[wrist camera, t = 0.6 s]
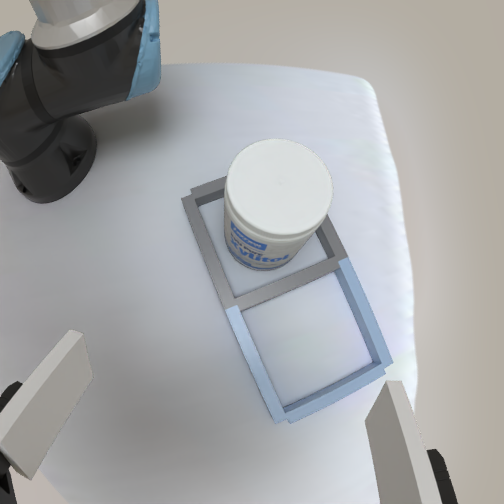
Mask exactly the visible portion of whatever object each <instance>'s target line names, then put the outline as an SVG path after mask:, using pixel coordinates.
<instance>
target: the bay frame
mask: <svg viewBox="0 0 504 504" xmlns="http://www.w3.org/2000/svg"><path fill="white" fill-rule="evenodd" d="M226 178H227V176H225V177H222V178H219V179H217V180H214V181H211V182H208V183H206V184H203V185H200V186H197V187H195V188H192V189H191V193H192V194H191V195H189V196H186V197H184V198H181V200H182V202H183V205H184V208H185V211H186V213H187V216H188V219H189V221H190V224H191V227H192V229H193V232H194V234H195V237H196V240H197V242H198V245H199V247H200V250H201V252H202V255H203V257H204V260H205V263H206V265H207V268H208V270H209V273H210V275H211V278H212V280H213V282H214V285H215V287H216V290H217V292H218V295H219V297H220V300H221V302H222V304H223V307H224V309H225V312H226V314H227V316H228V319H229V321H230V324H231V326H232V328H233V331H234V333H235V335H236V338H237V340H238V342H239V345H240V347H241V349H242V352H243V354H244V356H245V358H246V361H247V363H248V365H249V367H250V370H251V372H252V374H253V376H254V379H255V381H256V383H257V385H258V388H259V390H260V392H261V394H262V396H263V399H264V401H265V403H266V405H267V407H268V409H269V412H270V414H271V416H272V418H273V420H274V422H275V424H277V423H279V422H281V421H284V420H286V419H287V420H288V422H289V423H290V424H291V423H293V422H296V421H298V420H300V419H302V418H304V417H306V416H309V415H311V414H313V413H315V412H317V411H319V410H321V409H323V408H325V407H327V406H329V405H331V404H333V403H335V402H337V401H339V400H340V399H342V398H344V397H346V396H348V395H350V394H352V393H353V392H355V391H357V390H359V389H361V388H362V387H364V386H366V385H368V384H369V383H371V382H373V381H375V380H376V379H378V378H380V377H381V376H383V375H385V374H386V373H385V371H384V368H386V367H387V366H389V365H391V364H392V363H393V360H392V358H391V355H390V353H389V350H388V348H387V345H386V343H385V340H384V338H383V335H382V333H381V330H380V328H379V325H378V323H377V321H376V318H375V316H374V313H373V311H372V309H371V306H370V304H369V302H368V299H367V297H366V295H365V293H364V290H363V288H362V286H361V284H360V281H359V279H358V277H357V275H356V273H355V270H354V268H353V266H352V264H351V262H350V260H349V258H348V255H347V253H346V251H345V249H344V247H343V245H342V243H341V241H340V239H339V237H338V235H337V233H336V230H335V228H334V226H333V224H332V222H331V220H330V218H329V216H328V214H327V215H326V217H325V219H324V220H323V222H322V223H321V224H320V226H319V227H318V228H317V230H316V233H317V236H318V238H319V240H320V242H321V244H322V246H323V248H324V250H325V252H326V254H327V257H328V259H327V260H325V261H323V262H320V263H318V264H316V265H313V266H311V267H309V268H306V269H304V270H302V271H300V272H297V273H295V274H293V275H290V276H288V277H285V278H283V279H281V280H278V281H276V282H274V283H271V284H269V285H267V286H264V287H262V288H259V289H257V290H255V291H252V292H250V293H247V294H245V295H242V296H240V297H238V298H234V296H233V293H232V291H231V289H230V286H229V284H228V281H227V279H226V277H225V274H224V272H223V269H222V267H221V264H220V262H219V259H218V257H217V255H216V252H215V250H214V247H213V245H212V242H211V240H210V237H209V235H208V232H207V230H206V227H205V225H204V222H203V220H202V217H201V215H200V212H199V210H198V206H200V205H203V204H206V203H208V202H211V201H214V200H216V199H219V198H222V197H224V189H225V182H226ZM331 272H335V274H336V276H337V278H338V280H339V283H340V285H341V287H342V289H343V292H344V294H345V296H346V298H347V301H348V303H349V305H350V307H351V310H352V312H353V314H354V317H355V319H356V321H357V324H358V326H359V328H360V331H361V333H362V336H363V338H364V340H365V343H366V345H367V348H368V350H369V353H370V355H371V358H372V360H373V363H371V364H369V365H367V366H366V367H364V368H362V369H360V370H359V371H357V372H355V373H353V374H351V375H349V376H348V377H346V378H344V379H342V380H340V381H338V382H336V383H334V384H332V385H330V386H328V387H326V388H324V389H322V390H320V391H318V392H316V393H314V394H312V395H310V396H308V397H306V398H304V399H302V400H300V401H297V402H295V403H293V404H291V405H289V406H286V407H284V408H282V405H281V403H280V401H279V399H278V397H277V394H276V392H275V390H274V388H273V386H272V383H271V381H270V379H269V377H268V374H267V372H266V370H265V368H264V365H263V363H262V361H261V359H260V356H259V354H258V352H257V349H256V347H255V345H254V343H253V340H252V338H251V336H250V333H249V331H248V329H247V326H246V324H245V322H244V319H243V317H242V315H241V312H242V311H244V310H246V309H249V308H251V307H254V306H256V305H258V304H261V303H263V302H265V301H268V300H270V299H273V298H275V297H277V296H280V295H282V294H284V293H286V292H289V291H291V290H293V289H296V288H298V287H300V286H302V285H305V284H307V283H309V282H311V281H314V280H316V279H318V278H320V277H323V276H325V275H327V274H329V273H331Z"/></svg>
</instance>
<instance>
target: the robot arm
mask: <svg viewBox="0 0 504 504" xmlns="http://www.w3.org/2000/svg"><path fill="white" fill-rule="evenodd" d="M29 1H30V3H31V5H32V7H33V9H34V11H35V13H36V15H37V17H38V19H37V21H36V23H35V26H34V28H33V30H32V34H31V38H30V39H28V40H25V35H24V34H22V33H21V32H19V31H10V32H8V33H6V34H4V35H2V36H1V37H0V160H2V161H3V162H4V163H5V164H6V166H7V168H8V171H9V173H10V175H11V177H12V179H13V182H14V184H15V186H16V188H17V189H18V190H19V192H20V193H21V194H23V195H24V196H25V197H26V198H28V199H29V200H31V201H33V202H36V203H48V202H52V201H55V200H58V199H60V198H62V197H63V196H65V195H67V194H68V193H69V192H71V191H72V190H73V189H74V188H75V187H76V186H77V185H78V184H79V183H80V182H81V181H82V180H83V178H84V177H85V176H86V174H87V173H88V171H89V169H90V167H91V165H92V163H93V160H94V157H95V153H96V137H95V134H94V132H93V130H92V129H91V127H90V125H89V124H88V122H87V121H86V120H85V119H84V118H82V117H81V116H79V115H78V114H81V113H84V112H87V111H90V110H94V109H97V108H100V107H104V106H107V105H111V104H114V103H118V102H122V101H128V100H130V99H131V98H133V97H136V96H139V95H142V94H145V93H149V92H151V91H153V90H154V89H155V88H156V87H157V86H158V84H159V82H160V79H161V55H160V39H159V36H160V33H159V6H158V0H29ZM93 378H94V376H93V372H92V369H91V364H90V360H89V356H88V352H87V347H86V343H85V338H84V333H80V332H77V331H74V330H71V329H70V330H69V331H68V332H67V333H66V334H65V335H64V337H63V338H62V339H61V340H60V341H59V342H58V343H57V344H56V346H55V347H54V348H53V349H52V350H51V351H50V353H49V354H48V355H47V356H46V357H45V358H44V360H43V361H42V362H41V363H40V364H39V365H38V367H37V368H36V369H35V370H34V371H33V373H32V374H31V375H30V376H29V377H28V379H27V380H26V381H25V382H24V384H22V383H20V382H18V381H17V382H15V383H13V384H12V385H10V386H8V387H7V388H6V390H5V391H4V392H3V393H2V395H1V397H0V504H17V501H16V497H15V493H14V489H13V484H12V479H11V474H10V472H9V467H10V465H11V466H12V467H13V468H14V469H15V471H16V472H18V473H19V474H21V475H22V476H24V477H26V478H28V479H29V480H32V478H33V476H34V475H35V473H36V471H37V469H38V468H39V466H40V464H41V462H42V461H43V459H44V457H45V455H46V454H47V452H48V450H49V449H50V447H51V445H52V444H53V442H54V440H55V438H56V437H57V435H58V433H59V432H60V430H61V429H62V427H63V425H64V424H65V422H66V420H67V419H68V417H69V416H70V414H71V412H72V411H73V409H74V408H75V406H76V404H77V403H78V401H79V400H80V398H81V396H82V395H83V393H84V392H85V390H86V389H87V387H88V386H89V384H90V383H91V381H92V379H93ZM365 425H366V429H367V434H368V439H369V444H370V449H371V454H372V459H373V464H374V469H375V475H376V480H377V486H378V492H379V498H380V504H458V503H457V499H456V496H455V492H454V489H453V486H452V483H451V479H449V477H450V476H449V473H448V471H447V467H446V465H445V462H444V458H443V457H442V456H441V454H440V453H439V452H438V451H437V450H436V449H432V450H426V448H425V445H424V442H423V439H422V436H421V433H420V430H419V427H418V424H417V421H416V419H415V416H414V413H413V410H412V407H411V405H410V402H409V399H408V397H407V394H406V391H405V389H404V386H403V384H402V381H386V382H385V384H384V386H383V388H382V390H381V392H380V394H379V396H378V397H377V399H376V401H375V403H374V405H373V407H372V409H371V410H370V412H369V414H368V416H367V417H366V419H365Z"/></svg>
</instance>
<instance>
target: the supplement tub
mask: <svg viewBox="0 0 504 504" xmlns="http://www.w3.org/2000/svg"><path fill="white" fill-rule="evenodd" d="M332 199H333V183H332V179H331V176H330V173H329V171H328V169H327V167H326V165H325V164H324V163H323V161H322V160H321V159H320V158H319V157H318V156H317V155H316V154H315V153H314V152H313V151H311V150H310V149H309V148H307V147H305V146H303V145H301V144H299V143H296V142H294V141H290V140H285V139H266V140H261V141H258V142H255V143H253V144H251V145H249V146H247V147H246V148H244V149H243V150H242V151H241V152H240V153H238V155H237V156H236V157H235V158H234V160H233V161H232V163H231V165H230V167H229V170H228V174H227V178H226V182H225V189H224V233H225V241H226V244H227V247H228V249H229V251H230V253H231V254H232V255H233V257H234V258H235V259H236V260H237V261H238V262H240V263H241V264H243V265H244V266H246V267H248V268H251V269H254V270H261V271H265V270H272V269H276V268H279V267H281V266H283V265H285V264H286V263H288V262H289V261H290V260H291V259H292V258H293V257H294V256H295V255H296V253H297V252H298V251H299V250H300V249H301V248H302V246H303V245H304V244H305V243H306V242H307V240H308V239H309V238H310V237H311V236H312V234H313V233H314V232H315V231H316V230H317V228H318V227H319V226H320V224H321V223H322V222H323V220H324V219H325V217H326V215H327V212H328V210H329V208H330V206H331V203H332Z"/></svg>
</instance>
